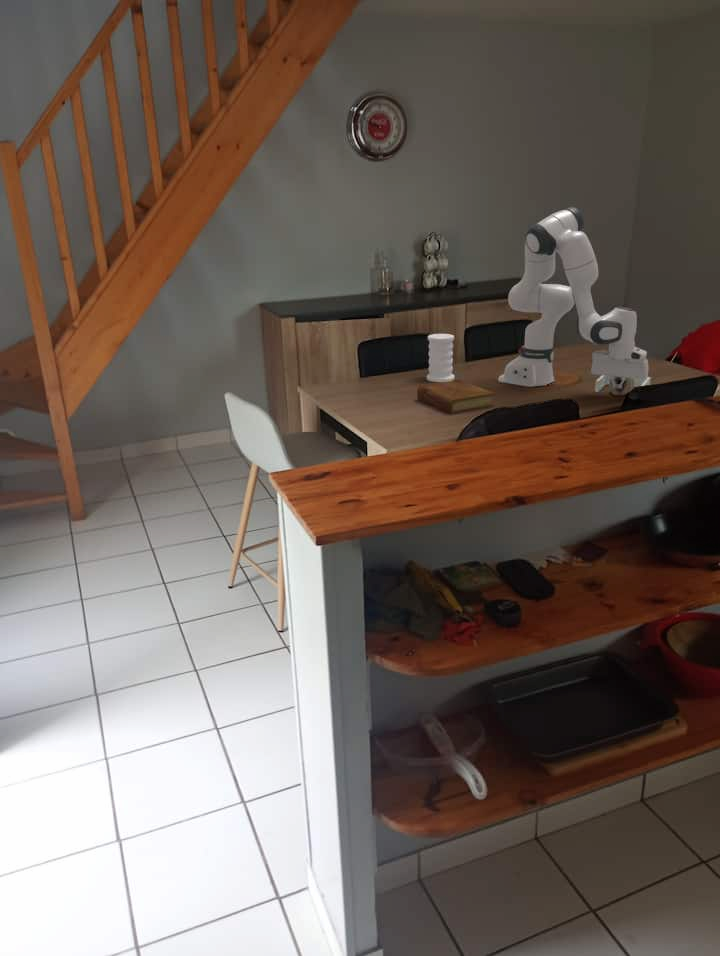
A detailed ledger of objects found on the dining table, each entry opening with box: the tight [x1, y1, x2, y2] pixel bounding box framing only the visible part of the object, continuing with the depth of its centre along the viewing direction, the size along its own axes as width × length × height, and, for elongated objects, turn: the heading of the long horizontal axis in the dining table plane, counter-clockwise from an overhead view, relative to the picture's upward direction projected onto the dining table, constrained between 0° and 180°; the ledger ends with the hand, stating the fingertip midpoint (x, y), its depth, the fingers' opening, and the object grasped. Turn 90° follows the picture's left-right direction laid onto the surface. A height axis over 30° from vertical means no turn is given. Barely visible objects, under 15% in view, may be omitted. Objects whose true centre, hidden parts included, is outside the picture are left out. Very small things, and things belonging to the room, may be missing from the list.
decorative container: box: [426, 333, 455, 383], centre depth 310 cm, size 12×12×18 cm
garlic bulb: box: [608, 377, 635, 396], centre depth 282 cm, size 9×8×10 cm
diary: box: [416, 379, 495, 415], centre depth 278 cm, size 23×19×6 cm
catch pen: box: [594, 375, 652, 393], centre depth 287 cm, size 18×14×4 cm
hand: (617, 388), depth 279 cm, fingers closed, pressing on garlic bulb
